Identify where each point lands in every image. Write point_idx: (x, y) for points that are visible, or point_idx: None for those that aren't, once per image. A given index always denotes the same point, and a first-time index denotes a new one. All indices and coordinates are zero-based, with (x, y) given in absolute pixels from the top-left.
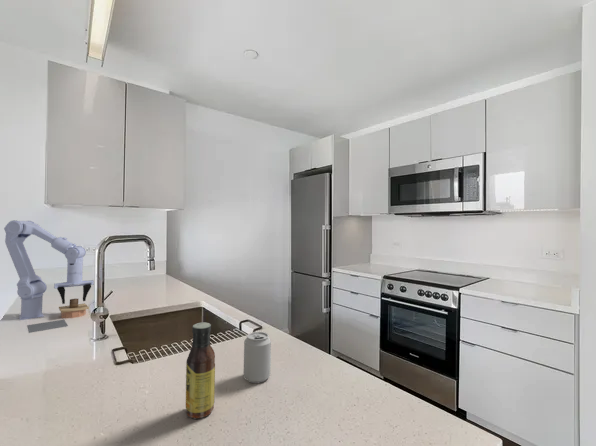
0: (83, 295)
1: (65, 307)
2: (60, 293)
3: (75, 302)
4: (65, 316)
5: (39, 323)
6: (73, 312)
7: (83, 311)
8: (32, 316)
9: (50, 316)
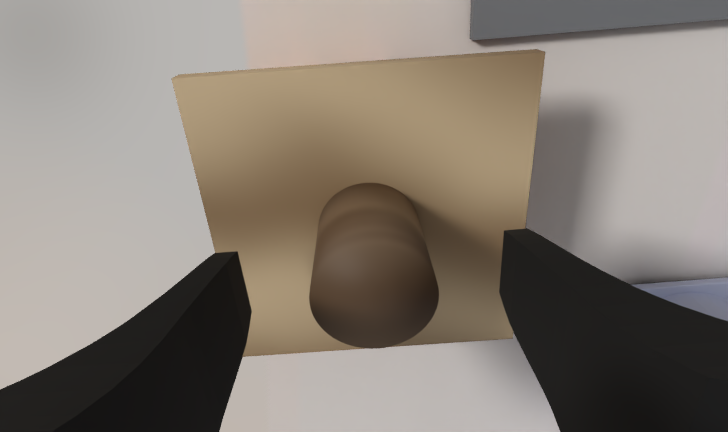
0: (220, 361)
1: (457, 269)
2: (722, 324)
3: (354, 222)
4: None
5: (718, 10)
6: None
7: None
8: (691, 299)
9: None
